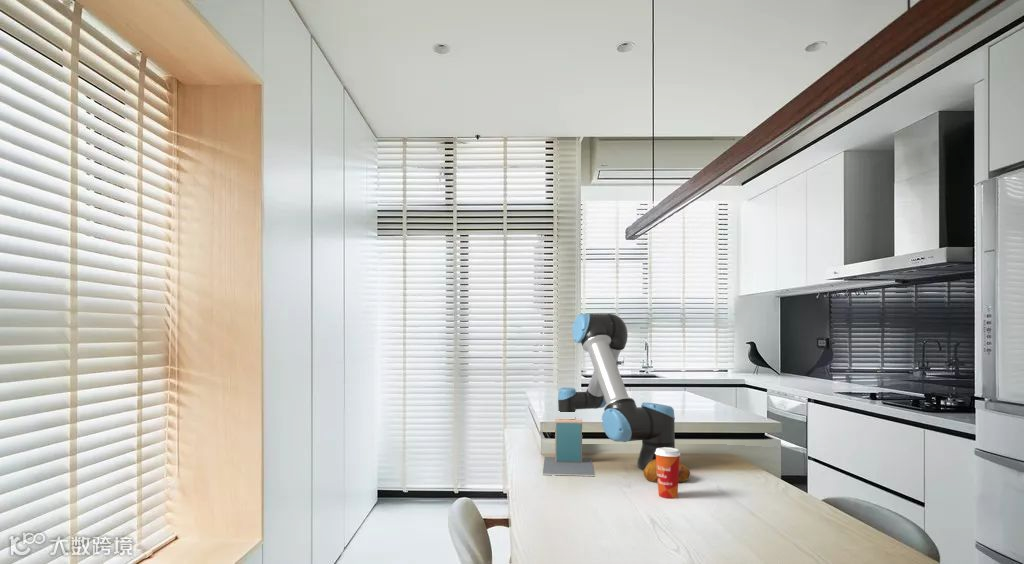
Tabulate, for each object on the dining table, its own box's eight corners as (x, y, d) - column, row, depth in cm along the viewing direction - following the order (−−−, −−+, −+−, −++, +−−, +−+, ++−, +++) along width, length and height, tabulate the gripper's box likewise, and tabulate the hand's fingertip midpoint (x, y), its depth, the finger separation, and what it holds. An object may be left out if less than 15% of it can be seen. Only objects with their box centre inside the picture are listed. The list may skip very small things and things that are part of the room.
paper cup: (649, 494, 183) (649, 448, 184) (669, 491, 186) (669, 446, 187) (666, 500, 176) (665, 453, 177) (686, 497, 179) (686, 450, 180)
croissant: (692, 491, 194) (696, 467, 195) (645, 484, 195) (648, 459, 195) (681, 478, 209) (684, 456, 209) (637, 471, 209) (640, 449, 210)
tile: (555, 459, 224) (555, 419, 222) (581, 459, 224) (582, 419, 221) (555, 462, 222) (555, 421, 219) (582, 462, 221) (582, 422, 218)
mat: (544, 458, 231) (544, 456, 231) (591, 459, 229) (591, 457, 229) (542, 475, 205) (542, 473, 205) (595, 476, 203) (594, 474, 203)
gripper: (582, 437, 246) (584, 449, 223) (551, 437, 247) (550, 448, 224) (582, 419, 247) (584, 429, 223) (551, 418, 248) (550, 428, 224)
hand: (567, 439), depth 223 cm, fingers closed
